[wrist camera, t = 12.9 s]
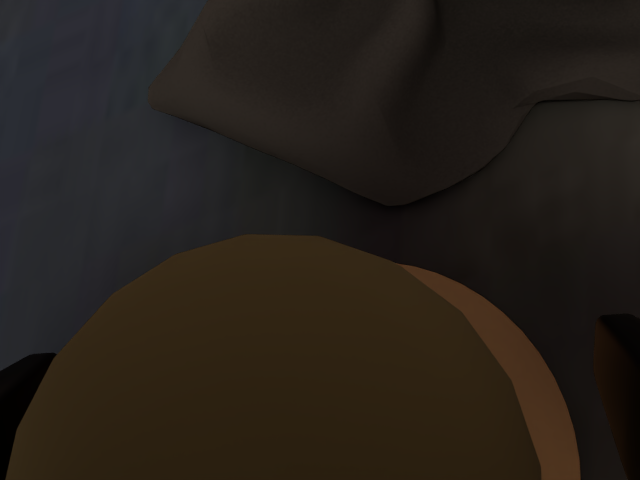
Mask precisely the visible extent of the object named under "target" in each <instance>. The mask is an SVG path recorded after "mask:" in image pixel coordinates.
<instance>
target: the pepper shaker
mask: <svg viewBox="0 0 640 480" xmlns="http://www.w3.org/2000/svg"><path fill="white" fill-rule="evenodd" d="M5 480H541V465H540V462H539V459H538V456H537V453H536V450H535V448H534V445H533V442H532V439H531V436H530V433H529V430H528V427H527V424H526V421H525V418H524V415H523V412H522V409H521V406H520V404H519V401H518V398H517V395H516V392H515V389H514V386H513V383H512V380H511V379H510V377H509V376H508V375H507V373H506V372H505V371H504V369H503V368H502V366H501V365H500V364H499V362H498V361H497V360H496V358H495V357H494V355H493V354H492V353H491V351H490V350H489V348H488V347H487V346H486V344H485V343H484V342H483V340H482V339H481V337H480V336H479V335H478V333H477V332H476V331H475V329H474V328H473V326H472V325H471V324H470V322H469V321H468V320H467V318H466V317H465V315H464V314H463V313H462V312H461V311H460V310H459V309H457V308H456V307H455V306H453V305H452V304H451V303H449V302H448V301H447V300H445V299H444V298H443V297H441V296H440V295H439V294H437V293H436V292H435V291H433V290H432V289H431V288H429V287H428V286H427V285H425V284H424V283H423V282H421V281H420V280H419V279H417V278H416V277H415V276H413V275H412V274H411V273H409V272H408V271H406V270H405V269H404V268H402V267H401V266H400V265H398V264H396V263H394V262H392V261H390V260H387V259H384V258H381V257H378V256H375V255H373V254H370V253H367V252H364V251H361V250H358V249H355V248H352V247H349V246H346V245H344V244H341V243H338V242H335V241H332V240H329V239H326V238H323V237H320V236H302V235H259V234H245V235H241V236H237V237H234V238H230V239H227V240H223V241H220V242H216V243H213V244H209V245H206V246H202V247H199V248H195V249H192V250H188V251H185V252H181V253H178V254H175V255H173V256H172V257H170V258H169V259H167V260H165V261H164V262H162V263H161V264H159V265H158V266H156V267H154V268H153V269H151V270H150V271H148V272H146V273H145V274H143V275H142V276H140V277H139V278H137V279H135V280H134V281H132V282H131V283H129V284H127V285H126V286H124V287H123V288H121V289H120V290H118V291H116V292H115V293H113V294H112V295H111V296H110V297H109V298H108V299H107V300H106V301H105V302H104V304H103V305H102V306H101V307H100V308H99V309H98V310H97V311H96V312H95V313H94V315H93V316H92V317H91V318H90V319H89V320H88V321H87V322H86V323H85V324H84V326H83V327H82V328H81V329H80V330H79V331H78V332H77V333H76V334H75V335H74V337H73V338H72V339H71V340H70V341H69V342H68V343H67V344H66V345H65V347H64V348H63V349H62V350H61V351H60V352H59V353H58V354H57V355H56V356H55V358H54V359H53V360H52V362H51V364H50V366H49V368H48V370H47V372H46V374H45V376H44V378H43V380H42V382H41V384H40V386H39V387H38V389H37V391H36V393H35V395H34V397H33V399H32V401H31V403H30V405H29V407H28V409H27V411H26V413H25V415H24V416H23V418H22V420H21V422H20V424H19V426H18V428H17V431H16V435H15V440H14V444H13V448H12V453H11V457H10V462H9V466H8V470H7V475H6V479H5Z"/></svg>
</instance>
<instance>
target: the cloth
mask: <svg viewBox="0 0 640 480" xmlns="http://www.w3.org/2000/svg"><path fill="white" fill-rule="evenodd" d="M578 99H619V100H628V101H629V100H640V0H208V1H207V3H206V4H205V6H204V8H203V10H202V11H201V13H200V15H199V17H198V18H197V20H196V22H195V24H194V25H193V27H192V29H191V31H190V32H189V34H188V36H187V38H186V39H185V41H184V43H183V45H182V46H181V48H180V49H179V50H178V51H177V53H176V54H175V55H174V57H173V58H172V59H171V60H170V62H169V63H168V64H167V65H166V67H165V68H164V69H163V70H162V72H161V73H160V74H159V75H158V76H157V77H156V79H155V80H154V81H153V83H152V84H151V85H150V87H149V92H148V102H149V104H150V105H151V107H152V108H153V109H155V110H158V111H161V112H164V113H167V114H169V115H172V116H175V117H178V118H181V119H183V120H186V121H189V122H191V123H194V124H196V125H199V126H202V127H204V128H207V129H209V130H212V131H214V132H217V133H219V134H221V135H223V136H226V137H228V138H230V139H233V140H235V141H237V142H240V143H242V144H244V145H247V146H249V147H251V148H254V149H256V150H258V151H261V152H264V153H266V154H269V155H271V156H274V157H276V158H279V159H281V160H284V161H286V162H289V163H291V164H293V165H296V166H298V167H300V168H302V169H305V170H307V171H309V172H312V173H314V174H316V175H319V176H321V177H323V178H325V179H327V180H329V181H331V182H333V183H335V184H337V185H339V186H342V187H344V188H346V189H348V190H350V191H352V192H354V193H356V194H359V195H361V196H363V197H366V198H368V199H371V200H373V201H376V202H378V203H381V204H383V205H386V206H394V205H406V204H408V203H411V202H413V201H416V200H418V199H421V198H423V197H426V196H428V195H431V194H433V193H436V192H438V191H440V190H443V189H446V188H448V187H451V186H452V185H454V184H456V183H458V182H460V181H462V180H464V179H465V178H467V177H469V176H471V175H473V174H475V173H477V172H478V171H480V170H481V169H482V168H483V167H484V166H485V165H487V164H488V163H489V162H490V161H491V160H492V159H493V158H494V157H496V156H497V155H498V154H499V153H500V152H501V151H502V150H503V149H505V147H506V146H507V144H508V143H509V141H510V140H511V138H512V137H513V135H514V134H515V132H516V131H517V129H518V128H519V126H520V125H521V123H522V122H523V120H524V119H525V117H526V116H527V114H528V113H529V111H530V109H531V108H532V107H533V106H534V105H535V104H536V103H537V102H539V101H543V100H578Z"/></svg>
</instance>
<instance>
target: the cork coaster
mask: <svg viewBox="0 0 640 480" xmlns="http://www.w3.org/2000/svg"><path fill="white" fill-rule="evenodd" d="M396 264H397V263H396ZM398 265H400V266H401V267H402V268H404V269H405V270H406V271H408V272H409V273H411V274H412V275H413V276H415V277H416V278H417V279H419V280H420V281H421V282H423V283H424V284H425V285H427V286H428V287H429V288H431V289H432V290H433V291H435V292H436V293H437V294H439V295H440V296H441V297H443V298H444V299H445V300H447V301H448V302H449V303H451V304H452V305H453V306H455V307H456V308H457V309H459V310H460V311H461V312H462V313H463V314H464V315H465V317H466V318H467V320H468V321H469V322H470V324H471V325H472V326H473V328H474V329H475V331H476V332H477V333H478V335H479V336H480V337H481V339H482V340H483V342H484V343H485V344H486V346H487V347H488V348H489V350H490V351H491V353H492V354H493V355H494V357H495V358H496V360H497V361H498V362H499V364H500V365H501V366H502V368H503V369H504V371H505V372H506V373H507V375H508V376H509V377H510V379H511V380H512V383H513V386H514V389H515V392H516V395H517V398H518V401H519V404H520V406H521V409H522V412H523V415H524V418H525V421H526V424H527V427H528V430H529V433H530V436H531V439H532V442H533V445H534V448H535V450H536V453H537V456H538V459H539V462H540V465H541V480H581V475H580V459H579V453H578V448H577V442H576V436H575V431H574V428H573V424H572V421H571V418H570V415H569V411H568V408H567V405H566V402H565V400H564V398H563V396H562V393H561V391H560V389H559V387H558V384H557V382H556V380H555V378H554V376H553V374H552V373H551V371H550V369H549V368H548V366H547V364H546V363H545V361H544V360H543V358H542V356H541V355H540V353H539V352H538V350H537V349H536V348H535V347H534V345H533V344H532V343H531V342H530V340H529V339H528V338H527V337H526V335H525V334H524V333H523V331H522V330H520V329H519V328H518V327H517V326H516V325H515V324H514V323H513V322H512V321H511V320H510V319H509V318H508V317H507V316H506V315H505V314H504V313H503V312H502V311H501V310H499V309H498V308H497V307H496V306H494V305H493V304H492V303H490V302H489V301H488V300H486V299H485V298H484V297H483V296H481V295H479V294H478V293H476V292H474V291H473V290H471V289H469V288H467V287H466V286H464V285H462V284H461V283H459V282H456V281H454V280H452V279H449V278H447V277H445V276H442V275H440V274H438V273H435V272H432V271H428V270H425V269H421V268H418V267H415V266H409V265H403V264H398Z"/></svg>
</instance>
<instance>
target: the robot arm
mask: <svg viewBox="0 0 640 480" xmlns="http://www.w3.org/2000/svg"><path fill="white" fill-rule="evenodd" d="M56 355H57V354H55V353H41V354H32V355H29V356H27V357H25V358H23V359H21V360H19V361H18V362H16V363H14V364H12V365H10V366H9V367H7V368H5V369H3V370H1V371H0V480H5V479H6V475H7V470H8V466H9V462H10V457H11V453H12V448H13V444H14V440H15V435H16V431H17V428H18V426H19V424H20V422H21V420H22V418H23V416H24V415H25V413H26V411H27V409H28V407H29V405H30V403H31V401H32V399H33V397H34V395H35V393H36V391H37V389H38V387H39V386H40V384H41V382H42V380H43V378H44V376H45V374H46V372H47V370H48V368H49V366H50V364H51V362H52V360H53V359H54V358H55V356H56ZM593 369H594V376H595V380H596V384H597V387H598V390H599V393H600V396H601V399H602V402H603V406H604V409H605V412H606V415H607V418H608V421H609V424H610V428H611V431H612V434H613V437H614V440H615V443H616V446H617V449H618V453H619V456H620V459H621V462H622V465H623V468H624V471H625V474H626V477H627V479H628V480H640V319H639V318H637V317H635V316H633V315H631V314H612V315H602V316H600V317H599V318H598V319H597V321H596V326H595V342H594V359H593Z"/></svg>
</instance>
